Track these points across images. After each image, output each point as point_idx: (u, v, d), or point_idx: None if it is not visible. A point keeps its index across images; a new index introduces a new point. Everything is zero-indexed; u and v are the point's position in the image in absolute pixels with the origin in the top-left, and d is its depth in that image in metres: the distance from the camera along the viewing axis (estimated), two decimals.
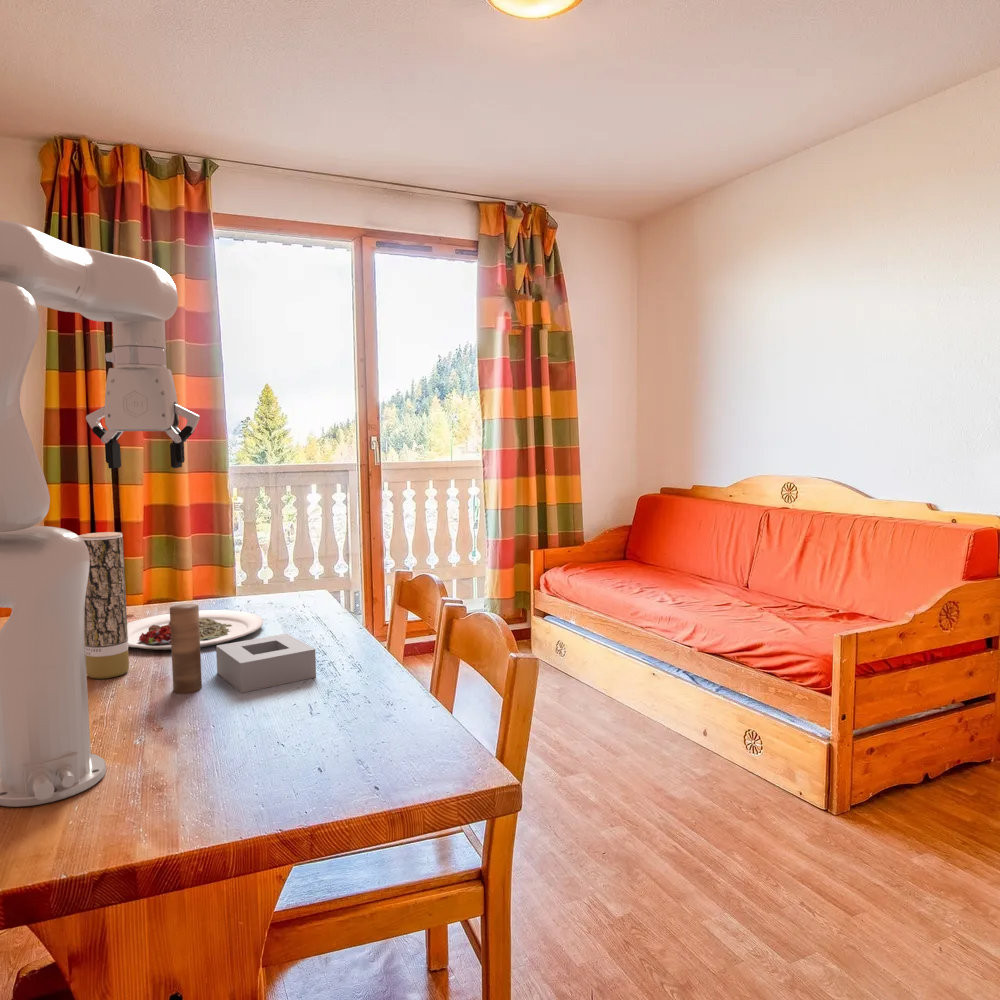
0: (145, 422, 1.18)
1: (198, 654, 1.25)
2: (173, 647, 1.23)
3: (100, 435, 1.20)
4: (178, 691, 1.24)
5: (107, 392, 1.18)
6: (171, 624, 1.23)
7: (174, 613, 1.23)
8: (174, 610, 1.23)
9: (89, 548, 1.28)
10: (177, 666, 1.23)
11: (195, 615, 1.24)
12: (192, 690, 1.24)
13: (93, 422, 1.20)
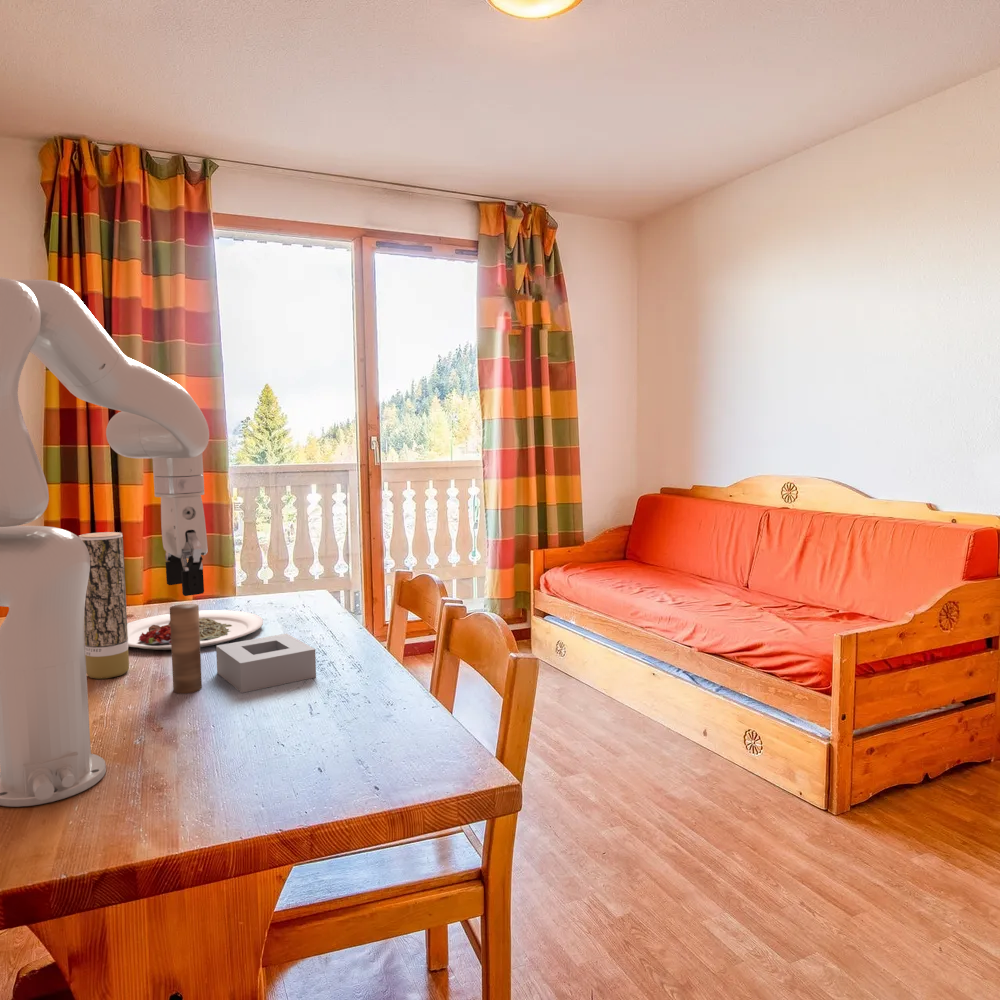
0: None
1: (198, 654, 1.25)
2: (173, 647, 1.23)
3: None
4: (178, 691, 1.24)
5: (204, 519, 1.22)
6: (171, 624, 1.23)
7: (174, 613, 1.23)
8: (174, 610, 1.23)
9: (89, 548, 1.28)
10: (177, 666, 1.23)
11: (195, 615, 1.24)
12: (192, 690, 1.24)
13: None
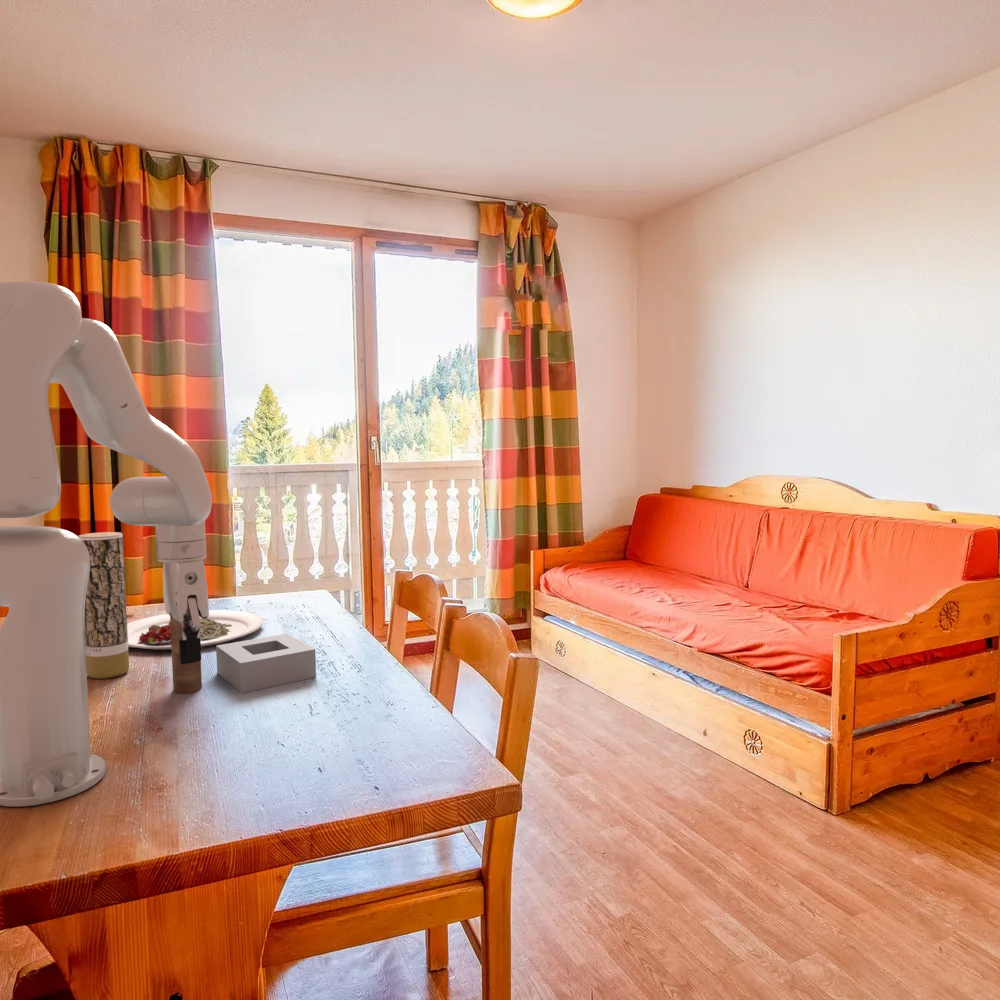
0: None
1: None
2: (173, 647, 1.23)
3: None
4: (178, 691, 1.24)
5: (206, 583, 1.22)
6: (171, 624, 1.23)
7: None
8: None
9: (89, 548, 1.28)
10: (177, 666, 1.23)
11: None
12: (192, 690, 1.24)
13: None
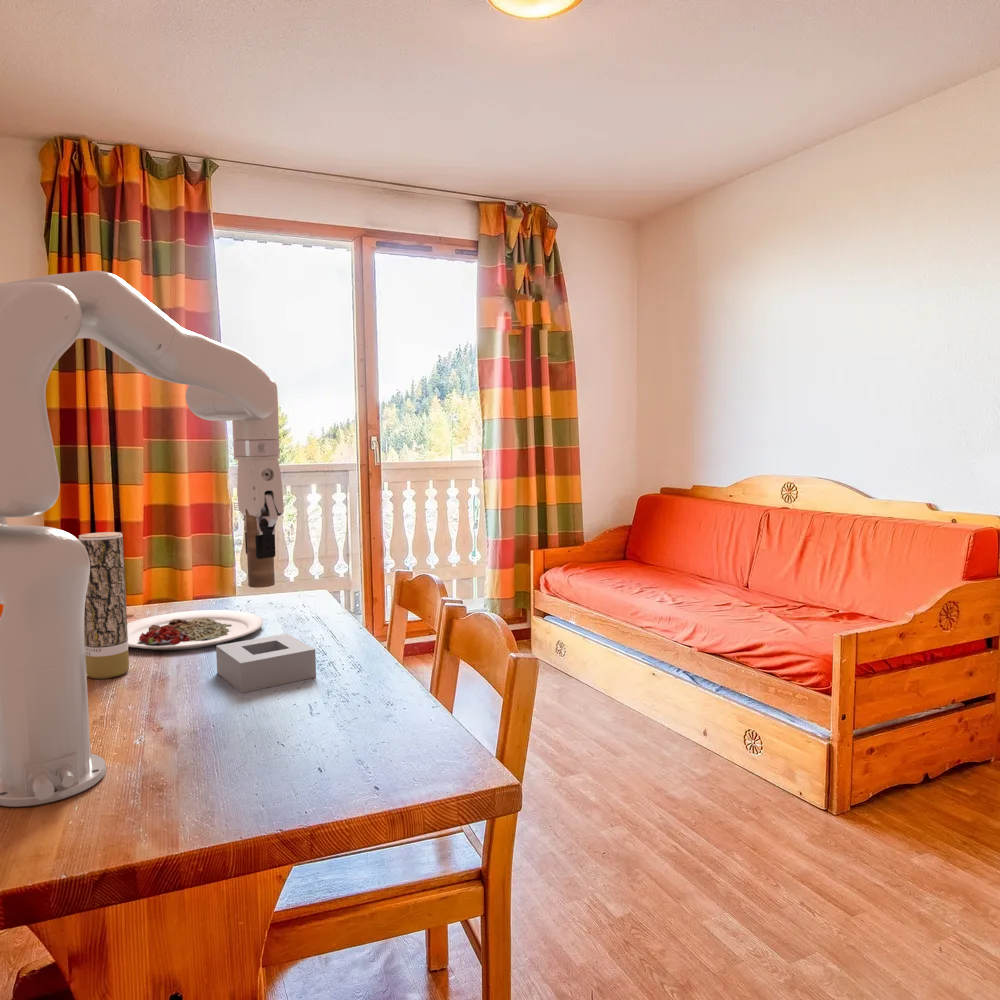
0: None
1: None
2: (249, 543, 1.29)
3: None
4: (254, 585, 1.29)
5: (281, 481, 1.28)
6: (247, 521, 1.29)
7: None
8: None
9: (89, 548, 1.28)
10: (252, 561, 1.29)
11: None
12: (267, 585, 1.30)
13: None
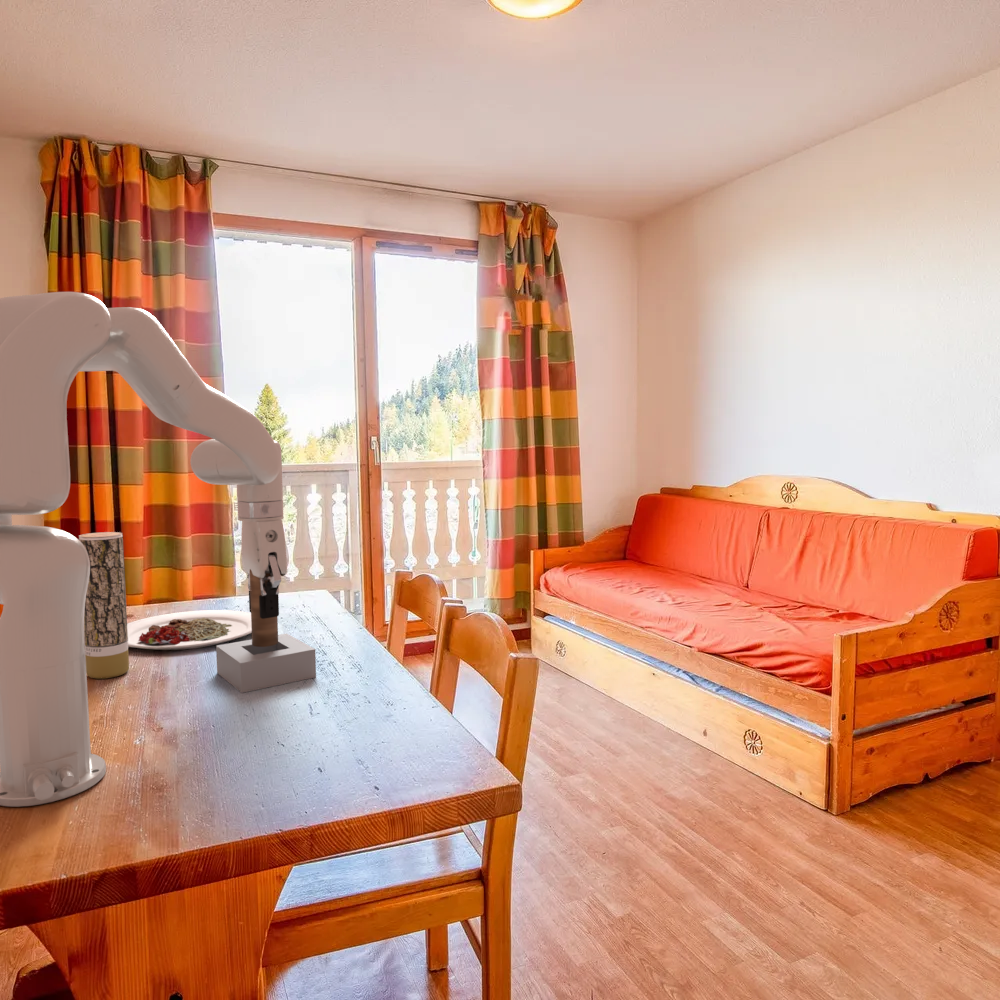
0: None
1: None
2: (253, 603, 1.30)
3: None
4: (257, 644, 1.30)
5: (284, 541, 1.29)
6: (251, 581, 1.30)
7: None
8: None
9: (89, 548, 1.28)
10: (256, 620, 1.30)
11: None
12: (270, 644, 1.31)
13: None
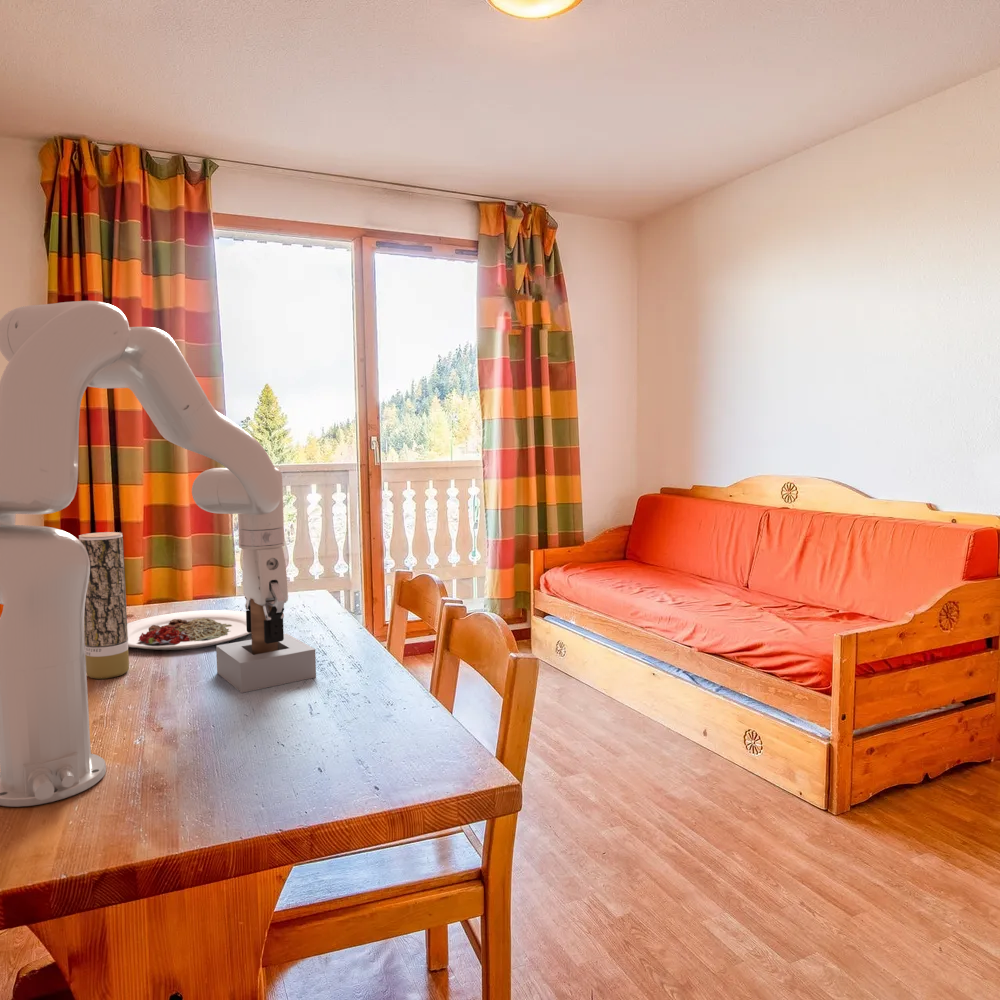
0: None
1: (276, 642, 1.32)
2: (254, 635, 1.30)
3: None
4: None
5: (285, 569, 1.29)
6: (252, 613, 1.30)
7: (255, 603, 1.30)
8: None
9: (89, 548, 1.28)
10: (257, 653, 1.30)
11: None
12: None
13: None
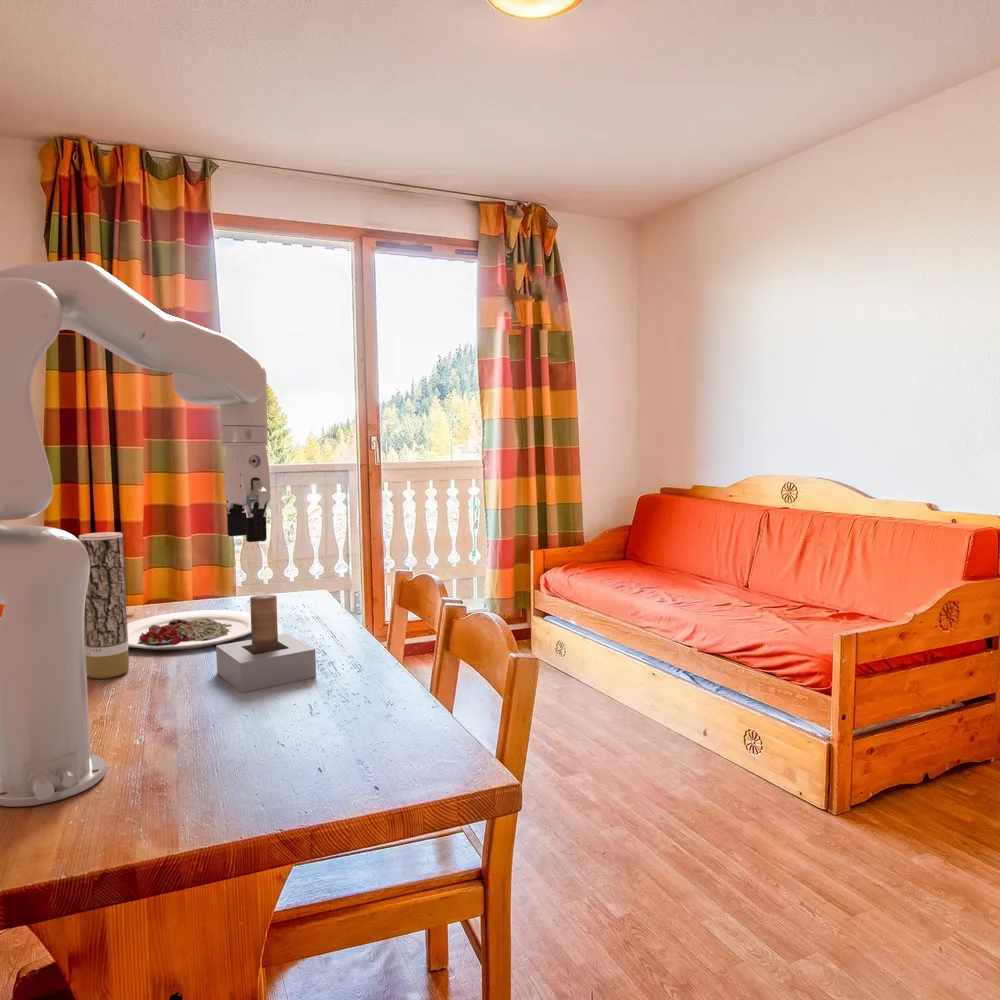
0: None
1: (276, 642, 1.32)
2: (254, 635, 1.30)
3: None
4: None
5: (268, 468, 1.25)
6: (252, 613, 1.30)
7: (255, 603, 1.30)
8: (255, 600, 1.30)
9: (89, 548, 1.28)
10: (257, 653, 1.30)
11: (274, 605, 1.31)
12: None
13: None
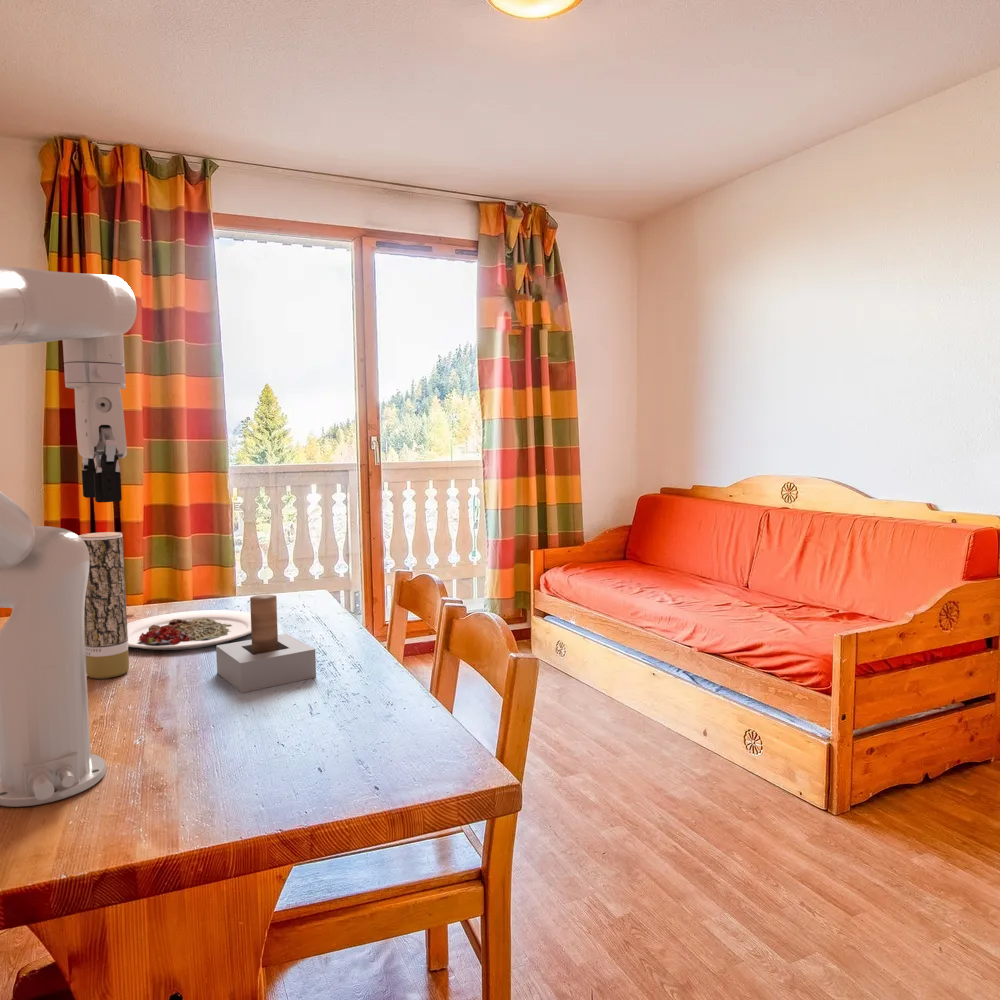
0: None
1: (276, 642, 1.32)
2: (254, 635, 1.30)
3: None
4: None
5: (123, 414, 1.04)
6: (252, 613, 1.30)
7: (255, 603, 1.30)
8: (255, 600, 1.30)
9: (89, 548, 1.28)
10: (257, 653, 1.30)
11: (274, 605, 1.31)
12: None
13: None
